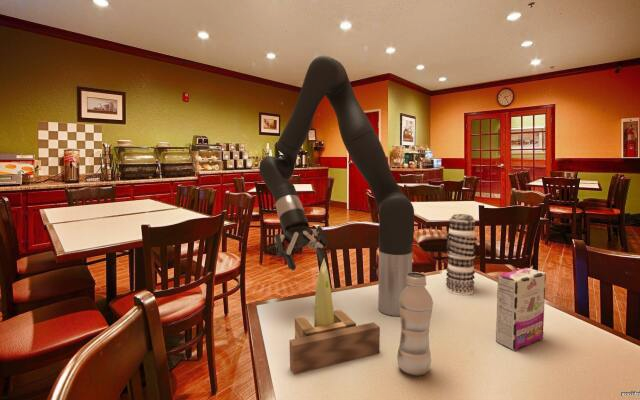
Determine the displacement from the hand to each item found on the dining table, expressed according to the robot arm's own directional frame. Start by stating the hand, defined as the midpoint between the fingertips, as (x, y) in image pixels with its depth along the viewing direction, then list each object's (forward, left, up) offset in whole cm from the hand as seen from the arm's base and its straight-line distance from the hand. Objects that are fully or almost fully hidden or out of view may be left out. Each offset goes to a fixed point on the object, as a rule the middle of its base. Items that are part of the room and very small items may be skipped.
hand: (308, 266), depth 91 cm
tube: (+1, +14, -15) cm, 20 cm away
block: (+1, +14, -15) cm, 20 cm away
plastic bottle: (-12, +30, -15) cm, 35 cm away
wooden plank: (+1, +20, -15) cm, 25 cm away
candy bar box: (-42, +30, -15) cm, 53 cm away
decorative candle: (-53, 0, -15) cm, 55 cm away
